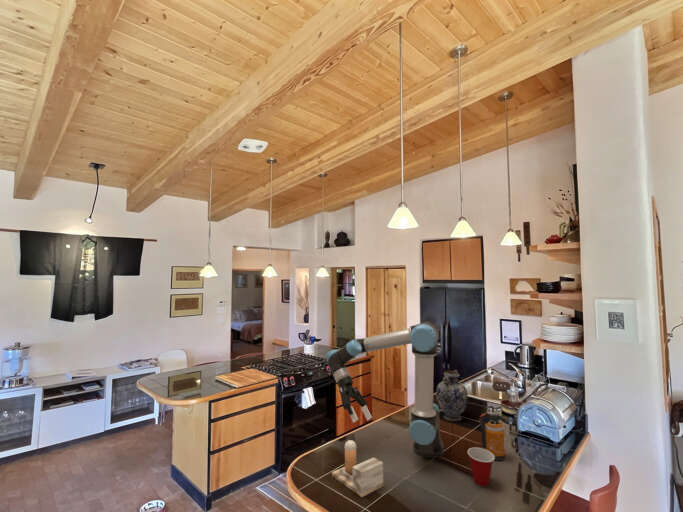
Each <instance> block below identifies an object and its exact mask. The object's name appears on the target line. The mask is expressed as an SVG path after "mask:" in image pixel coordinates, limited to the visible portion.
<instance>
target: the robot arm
mask: <svg viewBox="0 0 683 512" xmlns="http://www.w3.org/2000/svg"><path fill="white" fill-rule="evenodd" d="M439 337H440V331H439V328H438V327H437V326H436V324H434V323H432V322H431V321H422V322H420V323H418V324H415V325H410V326H409V328H404V329H402V330H401V329H400V330H397V331H390V332H386V333H382V334H377V335H372V336H369V337H364V338H356V339H351V340H350V341H348V342H346V344H345V345H344V346H342V347H341V348H340V349H339V350H338V349H331V350H330V351H328V352H326V353H325V357H324V358H325V360H326V364H327V365H328V366H329V369H330V371H331V373H332V375H333V377H334V379H333V380H335V382H336V384H337V386H338V388H339V389H338V391H339V393H340V399H341V406H342V408H343V409H344V410H345V411H346V410H347V413H348V415H349V416H350V419H351V420H352V423H356V422H357V421H358V420H359V417H358V415H357V414H356V411H355V410H354V407H353V406H352V405H351V403H352V402H351V401H352V399H354V400H355V402H356V403H357V404H358V405H359V406H360V407H361V408H360V409H361V410H362V413H363V414H364V417H365V419H366V421H370V420H371V419H373V416H372V415H371V413H370V411H369V409H368V406H367V405H368V401H367V400H366V398H365V397H364V396H363V395H362V394H361V392H360V391H359V389H358V388H357V386H355V387H353V385H354V381H353V379H352V377H351V376H350V372H349V370H348V368H347V367H346V364H348V363H349V362H350V361H351V360H353V359H354V358H356V357H357V356H358V355H360V354H365V353H370V352H374V351H379V350H385V349H389V348H395V347H400V346H406V345H411V353H412V354H413V355H414V406H413V407H412V408H411V409H410V424H409V427H408V432H409V436H410V438H411V439H412V440H413V443H412V450H413V453H414V454H416V455H417V456H419V457H421V458H427V459H437V458H440V457H442V456H444V454H445V447H444V443H443V441H442V438H441V434H440V433H441V431H440V430H441V429H440V427H441V426H440V425H441V424H440V406H439V404H436V403H434V368H435V367H434V365H435V363H434V358H435V356H437V355H438V340H439Z"/></svg>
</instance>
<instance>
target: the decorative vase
mask: <svg viewBox="0 0 683 512" xmlns="http://www.w3.org/2000/svg"><path fill="white" fill-rule="evenodd" d="M442 374H443V376H444V377H442V378H443V380H442V381H441V382H439V383H438V384H437V386H436V389H435V390H436V392H435V394H436V400H437V403H438V406H439V409H440V410H441V411H442V412H443V413H444V415H443V419H445V420H446V421H450V422H459V421H461V420H462V416H461V414H463V413H464V411H465V409H466V408H467V404H468V398H469V397H468V395H469V394H468V389H467V387H466V386H465V385H464V384H463V383H462V382H460V381H459V379H458V378H459V377H460V376H461V375H460V373H459V371H458V370H457V369H454V370H445V371H444V372H443V373H442Z"/></svg>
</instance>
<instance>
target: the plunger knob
mask: <svg viewBox="0 0 683 512" xmlns="http://www.w3.org/2000/svg"><path fill="white" fill-rule="evenodd" d="M356 465H357V443H356V442H355V441H354V440H353V439H352V440H351V439H349V440H347V441H346V442H345V444H344V467H345V472H347V473H348V474H350V475H351V476H353V466H356Z"/></svg>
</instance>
